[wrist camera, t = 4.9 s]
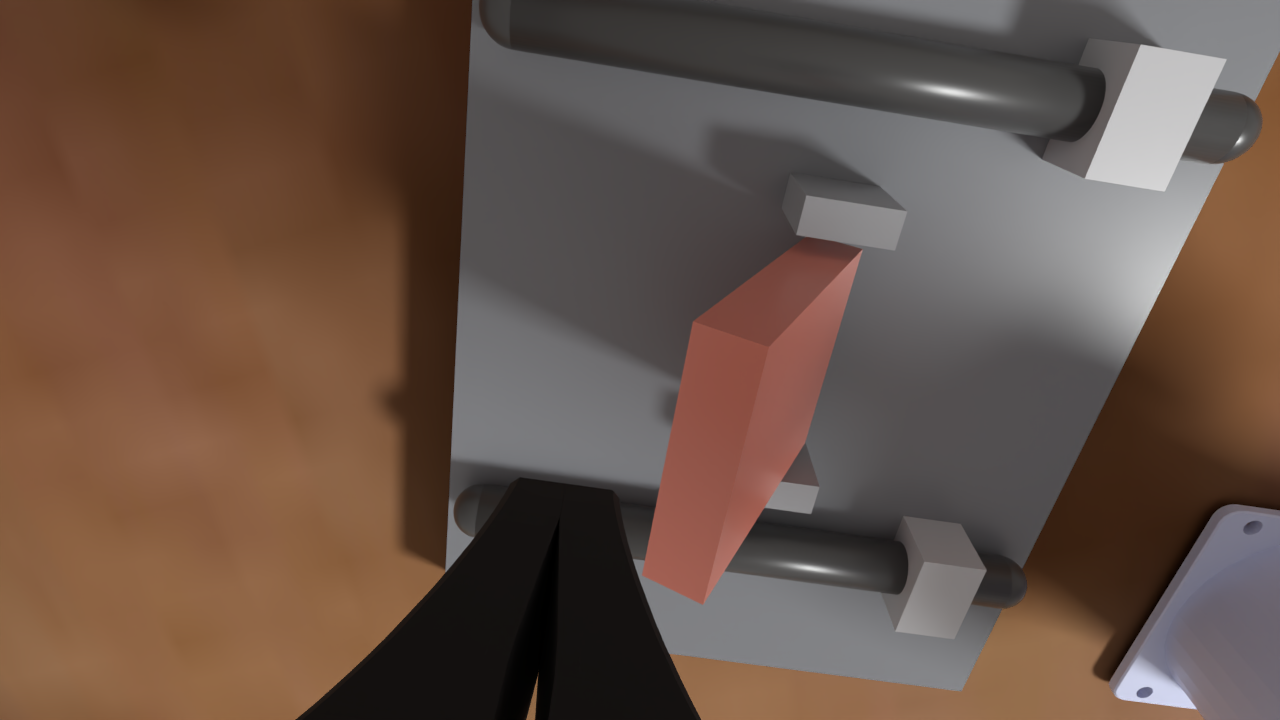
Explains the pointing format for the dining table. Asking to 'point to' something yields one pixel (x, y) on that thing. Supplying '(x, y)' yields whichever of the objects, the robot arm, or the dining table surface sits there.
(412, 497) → the dining table surface
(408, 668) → the robot arm
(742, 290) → the lever
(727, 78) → the box
